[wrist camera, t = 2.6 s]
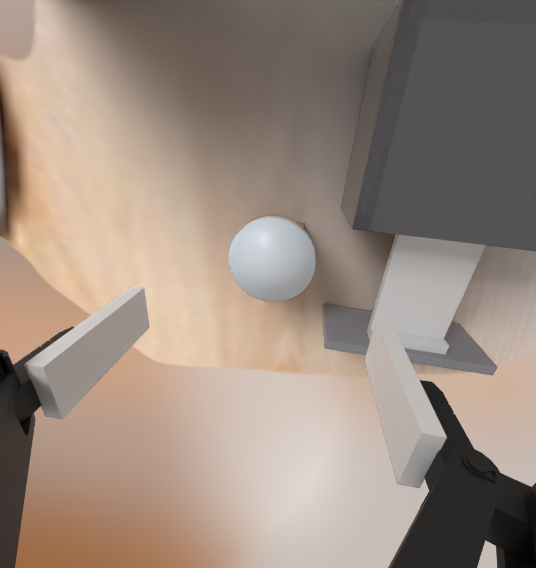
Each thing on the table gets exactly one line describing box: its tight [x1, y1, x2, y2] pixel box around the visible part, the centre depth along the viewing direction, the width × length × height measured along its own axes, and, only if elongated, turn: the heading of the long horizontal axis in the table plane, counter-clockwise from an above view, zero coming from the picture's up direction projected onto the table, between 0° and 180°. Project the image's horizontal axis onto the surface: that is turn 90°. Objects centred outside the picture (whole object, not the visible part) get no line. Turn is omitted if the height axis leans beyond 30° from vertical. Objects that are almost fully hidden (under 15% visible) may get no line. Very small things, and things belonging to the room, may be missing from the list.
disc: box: [228, 215, 316, 302], centre depth 26 cm, size 8×8×2 cm
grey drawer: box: [322, 234, 497, 375], centre depth 27 cm, size 16×13×7 cm
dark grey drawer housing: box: [341, 0, 536, 251], centre depth 21 cm, size 16×13×9 cm
